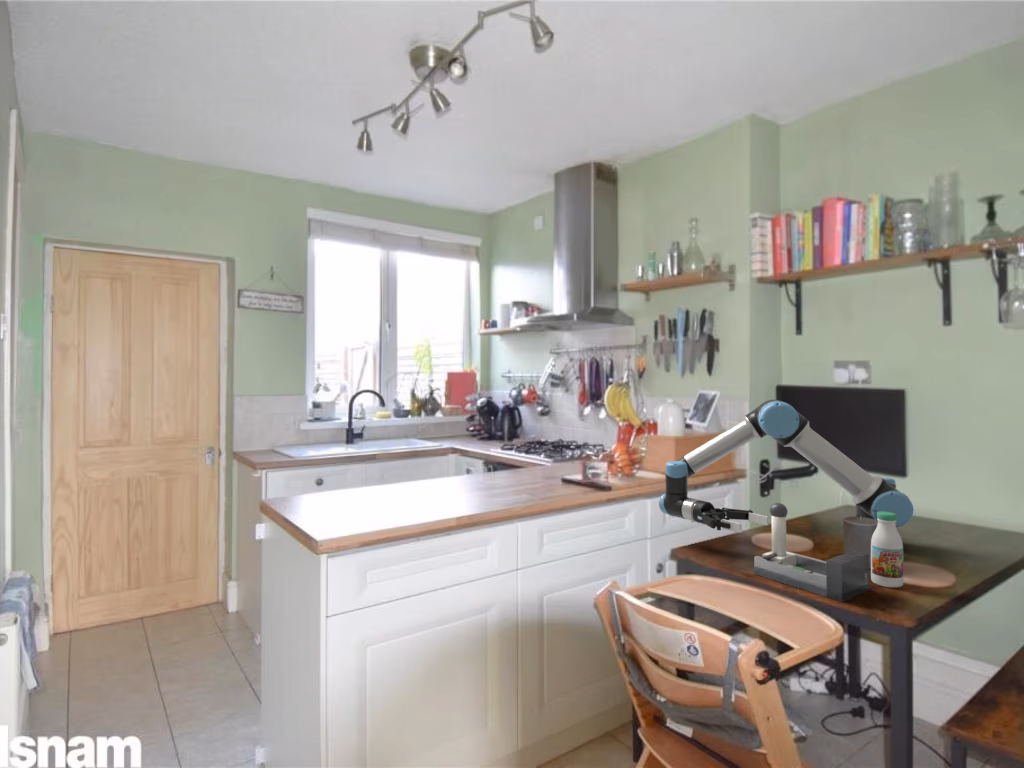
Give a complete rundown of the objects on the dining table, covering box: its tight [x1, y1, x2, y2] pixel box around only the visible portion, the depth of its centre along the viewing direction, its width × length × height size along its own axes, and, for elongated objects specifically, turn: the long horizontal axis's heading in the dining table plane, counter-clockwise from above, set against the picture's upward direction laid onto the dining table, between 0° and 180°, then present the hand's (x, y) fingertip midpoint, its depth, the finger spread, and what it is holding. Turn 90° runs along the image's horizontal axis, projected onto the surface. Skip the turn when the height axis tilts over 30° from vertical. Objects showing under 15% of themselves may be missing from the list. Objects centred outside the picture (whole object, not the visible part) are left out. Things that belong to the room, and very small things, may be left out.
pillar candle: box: [842, 516, 878, 570], centre depth 179 cm, size 10×10×15 cm
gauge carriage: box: [761, 502, 797, 566], centre depth 172 cm, size 6×11×19 cm, turn 123°
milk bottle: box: [870, 511, 904, 589], centre depth 163 cm, size 8×8×20 cm
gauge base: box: [752, 550, 870, 603], centre depth 166 cm, size 26×14×10 cm, turn 33°
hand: (754, 524), depth 179 cm, fingers open, 13 cm apart
